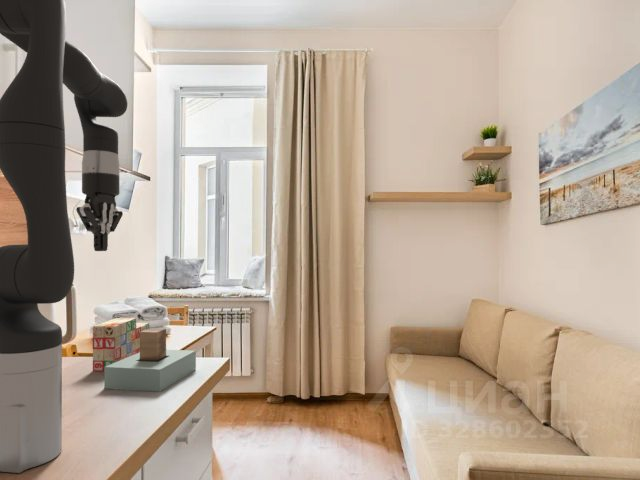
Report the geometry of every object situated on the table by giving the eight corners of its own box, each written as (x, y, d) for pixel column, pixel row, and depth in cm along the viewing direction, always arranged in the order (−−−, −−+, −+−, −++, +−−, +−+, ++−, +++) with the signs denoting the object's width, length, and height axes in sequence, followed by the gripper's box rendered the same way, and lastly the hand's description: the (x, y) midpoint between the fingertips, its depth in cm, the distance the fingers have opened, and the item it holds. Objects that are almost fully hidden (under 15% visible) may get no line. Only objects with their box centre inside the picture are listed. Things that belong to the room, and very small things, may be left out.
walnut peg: (156, 381, 106) (156, 332, 106) (139, 381, 107) (139, 331, 107) (166, 376, 111) (166, 328, 111) (149, 375, 111) (149, 328, 112)
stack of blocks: (130, 352, 137) (130, 313, 137) (150, 352, 137) (150, 313, 137) (92, 371, 115) (92, 325, 116) (115, 372, 115) (115, 325, 115)
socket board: (160, 391, 99) (160, 369, 99) (104, 388, 101) (104, 366, 101) (195, 369, 117) (195, 350, 117) (147, 367, 119) (147, 349, 119)
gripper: (96, 167, 91) (95, 251, 90) (133, 177, 104) (133, 250, 103) (64, 169, 92) (63, 251, 92) (105, 178, 105) (105, 250, 105)
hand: (100, 250), depth 97 cm, fingers closed
